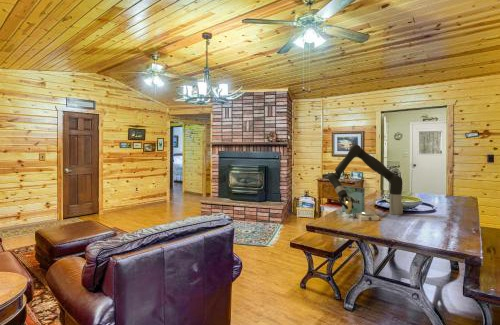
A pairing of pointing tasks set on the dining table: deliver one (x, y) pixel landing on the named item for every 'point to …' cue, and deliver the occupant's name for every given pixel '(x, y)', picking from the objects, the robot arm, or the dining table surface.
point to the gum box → (355, 198)
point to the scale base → (367, 217)
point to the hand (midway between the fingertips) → (350, 208)
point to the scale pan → (367, 212)
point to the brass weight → (349, 207)
